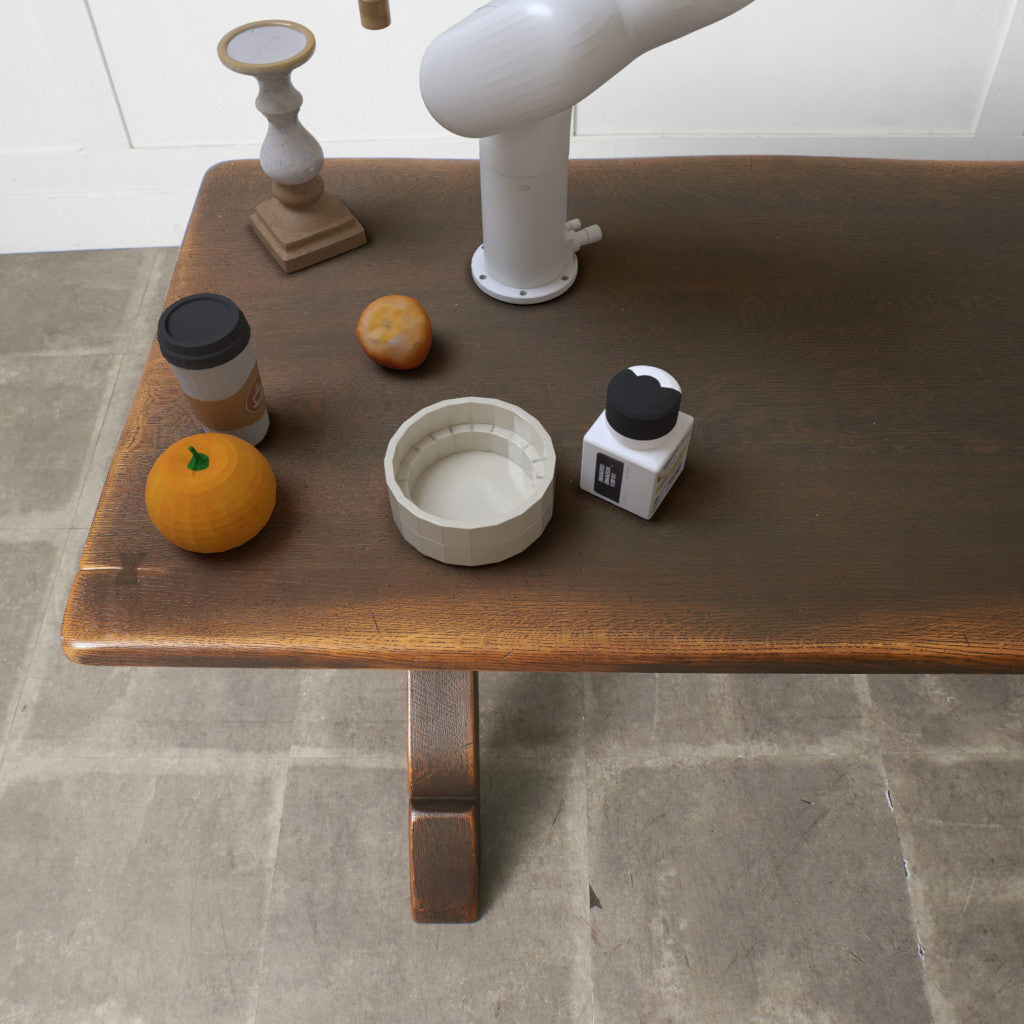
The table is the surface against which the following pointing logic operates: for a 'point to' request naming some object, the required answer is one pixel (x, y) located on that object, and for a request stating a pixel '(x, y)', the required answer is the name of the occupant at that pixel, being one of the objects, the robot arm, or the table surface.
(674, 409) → the container
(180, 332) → the coffee cup
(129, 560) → the table surface
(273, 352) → the table surface
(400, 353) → the fruit
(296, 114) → the candle holder
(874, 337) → the table surface
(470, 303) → the table surface
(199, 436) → the fruit
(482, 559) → the bowl
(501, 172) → the robot arm
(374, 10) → the wooden pestle
